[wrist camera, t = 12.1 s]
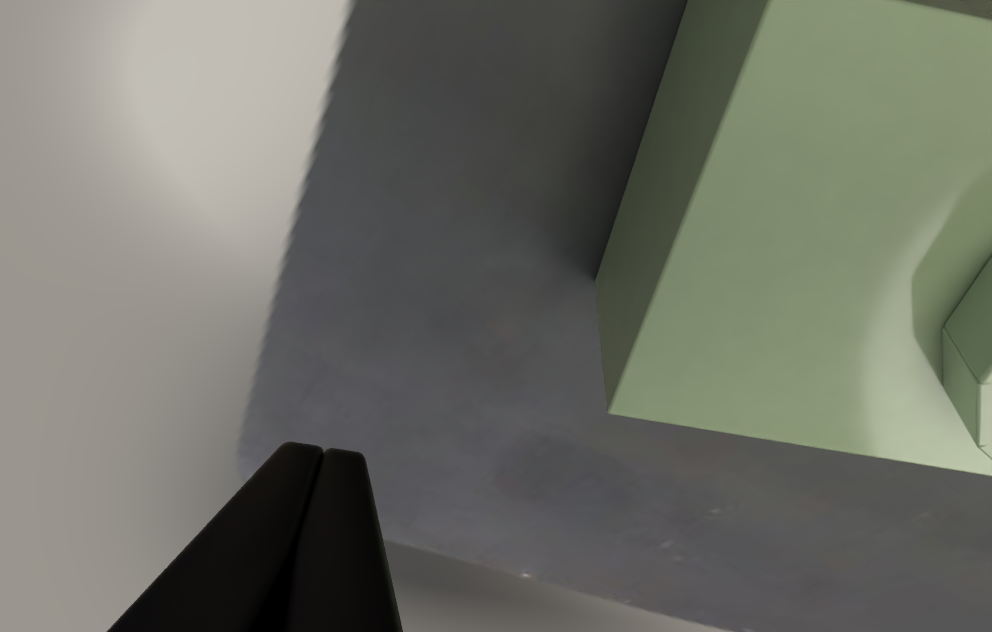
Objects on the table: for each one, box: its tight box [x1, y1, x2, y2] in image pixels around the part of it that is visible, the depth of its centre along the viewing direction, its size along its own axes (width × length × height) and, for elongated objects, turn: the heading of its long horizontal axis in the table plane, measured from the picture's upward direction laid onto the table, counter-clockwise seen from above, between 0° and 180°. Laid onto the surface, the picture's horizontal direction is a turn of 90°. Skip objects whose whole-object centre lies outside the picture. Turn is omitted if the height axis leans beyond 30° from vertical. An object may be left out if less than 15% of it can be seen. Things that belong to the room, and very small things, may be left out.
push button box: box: [595, 0, 992, 476], centre depth 18 cm, size 13×10×7 cm
